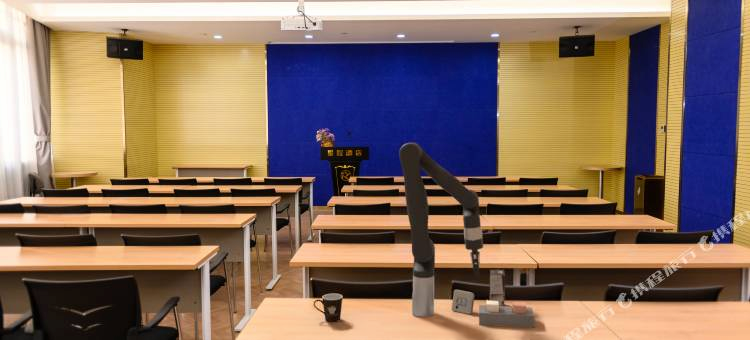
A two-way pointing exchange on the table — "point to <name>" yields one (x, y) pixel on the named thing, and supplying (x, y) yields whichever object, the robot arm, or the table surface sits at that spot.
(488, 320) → the grey long rectangular block
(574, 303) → the table surface
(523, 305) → the key terracotta
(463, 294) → the electrical switch
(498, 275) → the coffee box
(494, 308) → the key white
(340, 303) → the coffee mug
